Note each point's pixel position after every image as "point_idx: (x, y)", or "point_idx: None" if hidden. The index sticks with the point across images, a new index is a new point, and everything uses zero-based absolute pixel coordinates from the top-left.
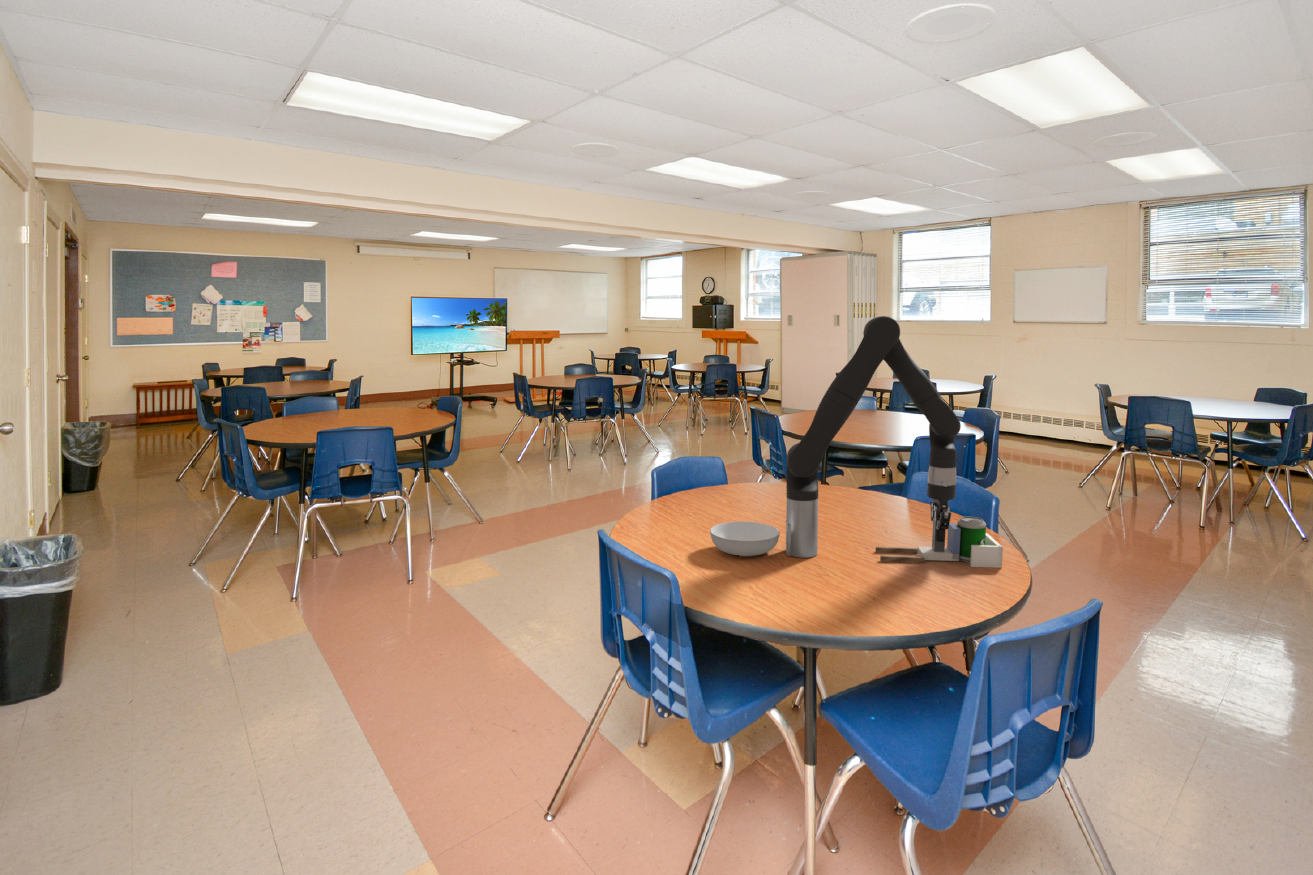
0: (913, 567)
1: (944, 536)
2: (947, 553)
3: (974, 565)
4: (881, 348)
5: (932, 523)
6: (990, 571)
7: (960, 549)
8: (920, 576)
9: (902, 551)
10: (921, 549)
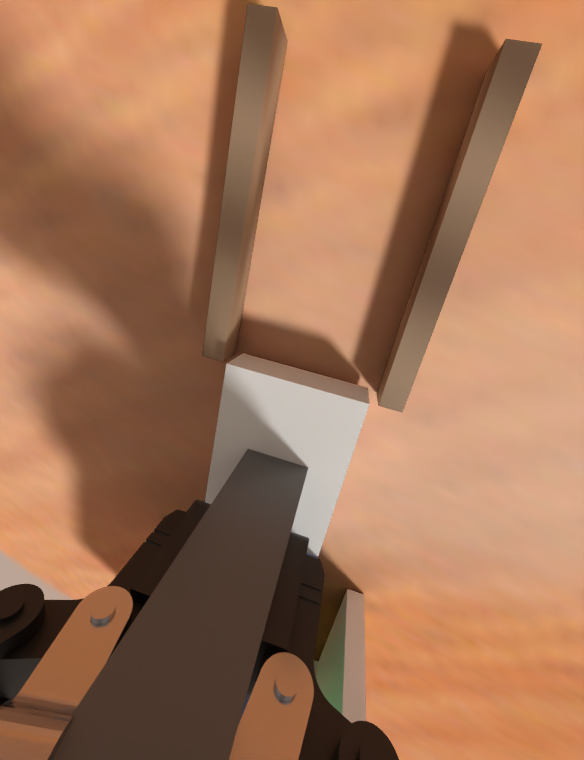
0: (149, 248)
1: None
2: (213, 498)
3: None
4: None
5: (293, 672)
6: (113, 550)
7: None
8: (21, 223)
9: (411, 297)
10: (302, 396)
